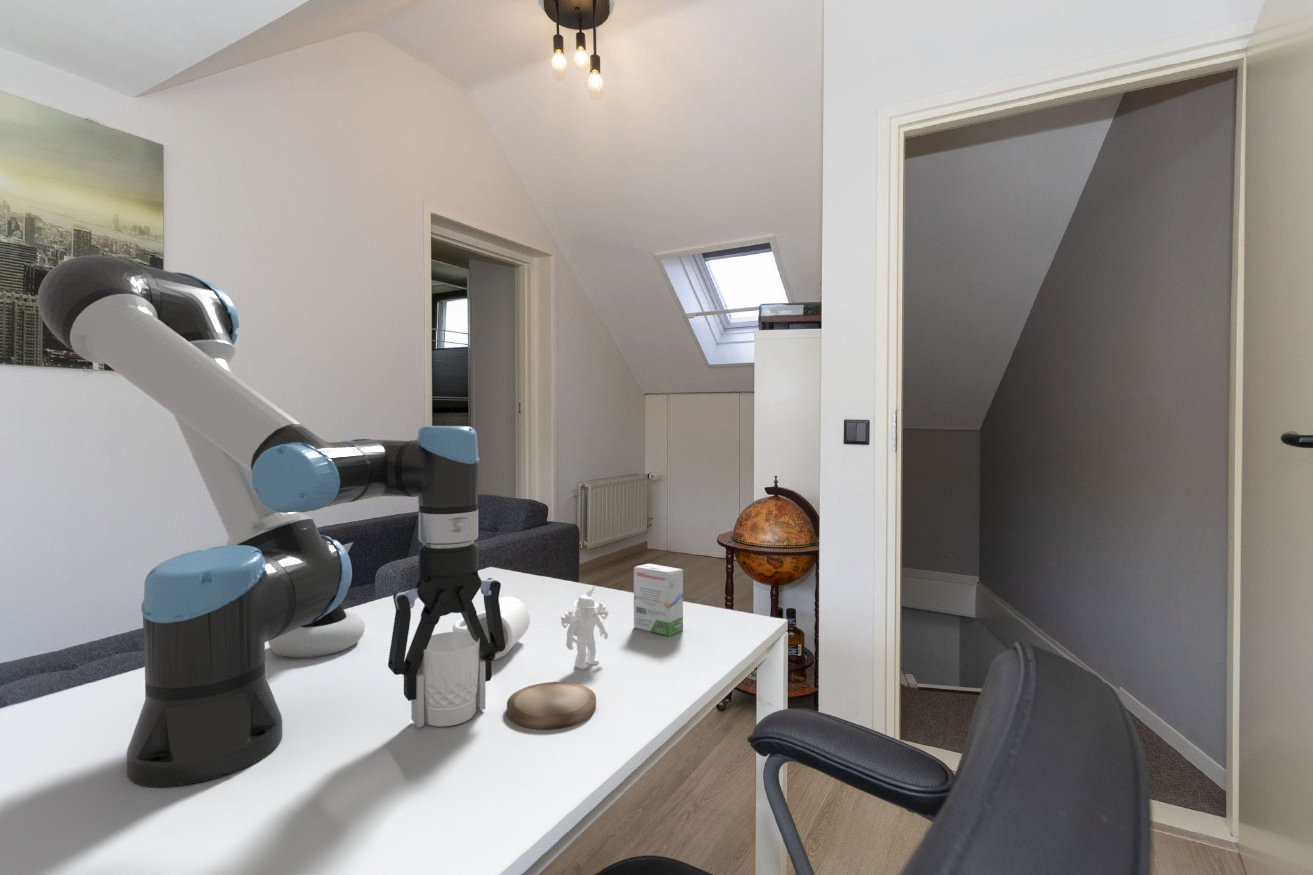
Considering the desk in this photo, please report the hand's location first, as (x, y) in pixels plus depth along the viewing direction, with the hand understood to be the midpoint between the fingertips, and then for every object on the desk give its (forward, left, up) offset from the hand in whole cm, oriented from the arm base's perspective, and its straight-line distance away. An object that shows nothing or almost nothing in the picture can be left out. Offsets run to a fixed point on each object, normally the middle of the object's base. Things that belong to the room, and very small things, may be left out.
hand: (449, 713), depth 86 cm
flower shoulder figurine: (+24, +5, -1) cm, 25 cm away
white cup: (0, 0, -1) cm, 1 cm away
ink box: (+44, +12, -1) cm, 46 cm away
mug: (+14, +21, -1) cm, 25 cm away
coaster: (+12, -6, 0) cm, 14 cm away
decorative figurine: (-9, +40, -1) cm, 41 cm away
